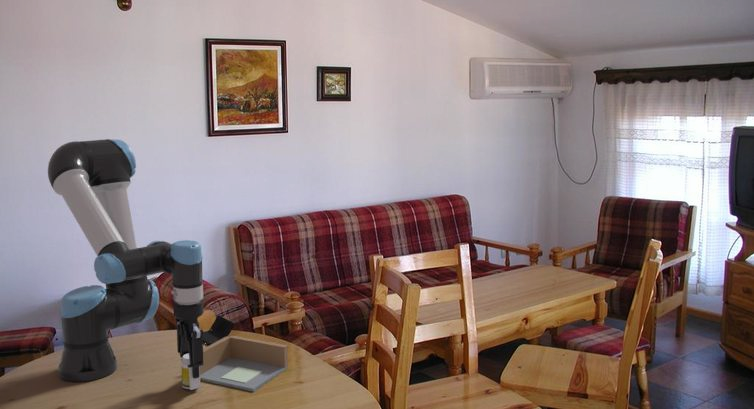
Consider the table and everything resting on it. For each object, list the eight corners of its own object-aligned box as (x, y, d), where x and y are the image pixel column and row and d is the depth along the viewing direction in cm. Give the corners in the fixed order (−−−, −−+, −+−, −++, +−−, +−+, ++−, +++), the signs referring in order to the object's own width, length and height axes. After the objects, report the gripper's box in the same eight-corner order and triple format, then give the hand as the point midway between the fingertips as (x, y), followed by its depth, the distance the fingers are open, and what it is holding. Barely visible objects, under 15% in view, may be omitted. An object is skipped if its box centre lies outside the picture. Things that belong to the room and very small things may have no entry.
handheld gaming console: (187, 333, 221) (205, 306, 224) (202, 341, 227) (219, 314, 229) (209, 347, 214) (227, 319, 217) (224, 355, 220) (241, 327, 222)
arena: (192, 378, 191) (191, 355, 190) (229, 356, 207) (229, 334, 205) (253, 391, 183) (252, 367, 182) (287, 368, 198) (287, 345, 197)
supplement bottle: (195, 390, 183) (194, 360, 181) (178, 388, 184) (177, 358, 182) (203, 382, 187) (202, 353, 186) (187, 380, 188) (186, 351, 187)
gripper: (162, 293, 186) (165, 375, 190) (186, 312, 172) (189, 401, 176) (189, 289, 190) (192, 369, 195) (215, 307, 176) (217, 393, 181)
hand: (191, 384), depth 185 cm, fingers closed on supplement bottle, 5 cm apart
